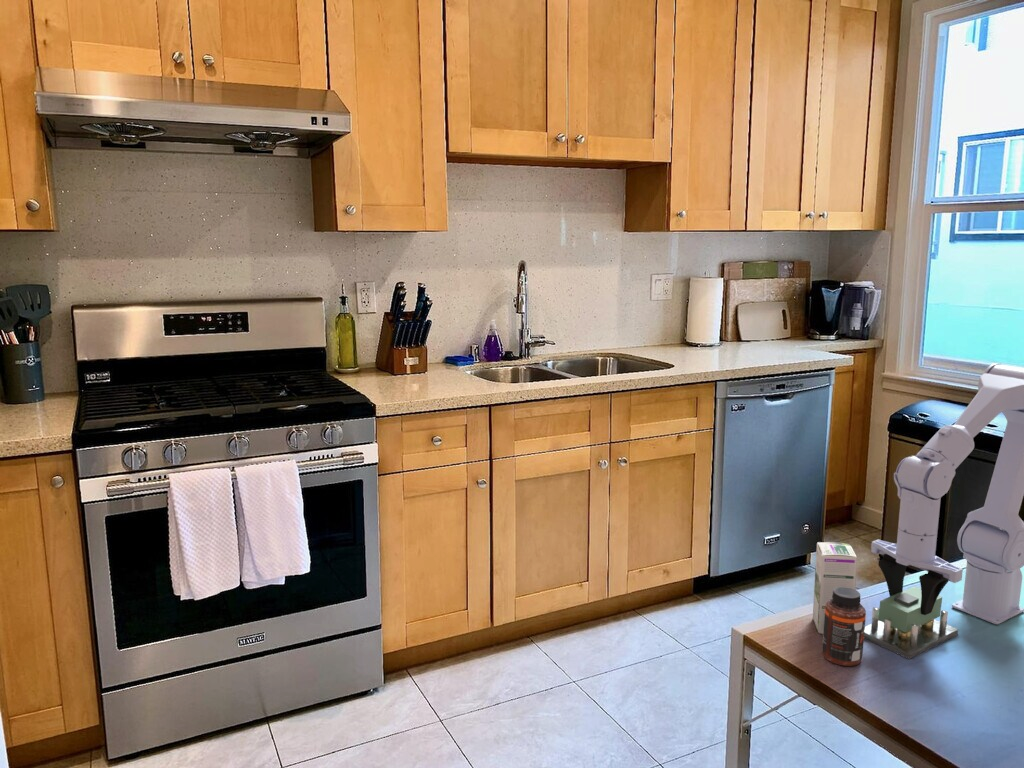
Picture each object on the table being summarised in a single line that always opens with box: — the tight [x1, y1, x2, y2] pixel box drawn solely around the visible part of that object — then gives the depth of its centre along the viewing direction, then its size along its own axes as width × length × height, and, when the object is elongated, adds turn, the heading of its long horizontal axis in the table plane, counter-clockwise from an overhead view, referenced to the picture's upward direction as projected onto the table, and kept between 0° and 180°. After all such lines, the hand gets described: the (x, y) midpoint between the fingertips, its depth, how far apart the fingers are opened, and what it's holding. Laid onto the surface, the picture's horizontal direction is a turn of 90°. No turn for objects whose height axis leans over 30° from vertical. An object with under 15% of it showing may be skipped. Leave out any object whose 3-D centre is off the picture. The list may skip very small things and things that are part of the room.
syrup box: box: [812, 541, 858, 635], centre depth 132 cm, size 6×6×14 cm
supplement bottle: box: [822, 587, 867, 667], centre depth 123 cm, size 6×6×11 cm
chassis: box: [864, 606, 959, 660], centre depth 130 cm, size 14×9×4 cm, turn 122°
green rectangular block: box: [878, 585, 943, 633], centre depth 129 cm, size 10×5×4 cm, turn 122°
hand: (910, 606), depth 129 cm, fingers closed on green rectangular block, 5 cm apart
